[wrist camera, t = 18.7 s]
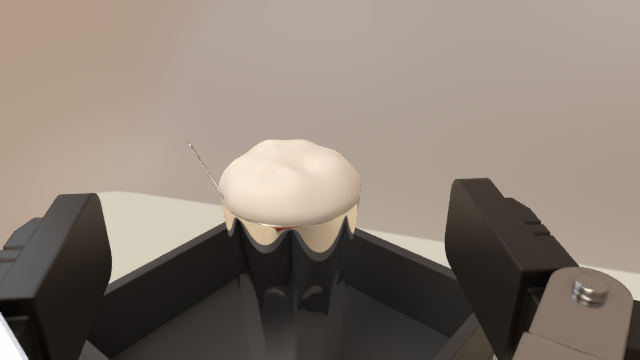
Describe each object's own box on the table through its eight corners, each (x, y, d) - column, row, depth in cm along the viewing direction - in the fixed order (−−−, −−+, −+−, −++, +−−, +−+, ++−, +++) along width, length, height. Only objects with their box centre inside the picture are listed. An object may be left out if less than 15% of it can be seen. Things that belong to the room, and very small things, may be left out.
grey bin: (64, 390, 21) (42, 318, 19) (279, 252, 29) (277, 193, 28) (296, 629, 14) (294, 550, 13) (492, 361, 22) (506, 292, 21)
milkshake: (203, 348, 22) (174, 116, 18) (324, 313, 24) (327, 95, 19) (232, 439, 18) (205, 176, 14) (373, 390, 20) (390, 143, 16)
